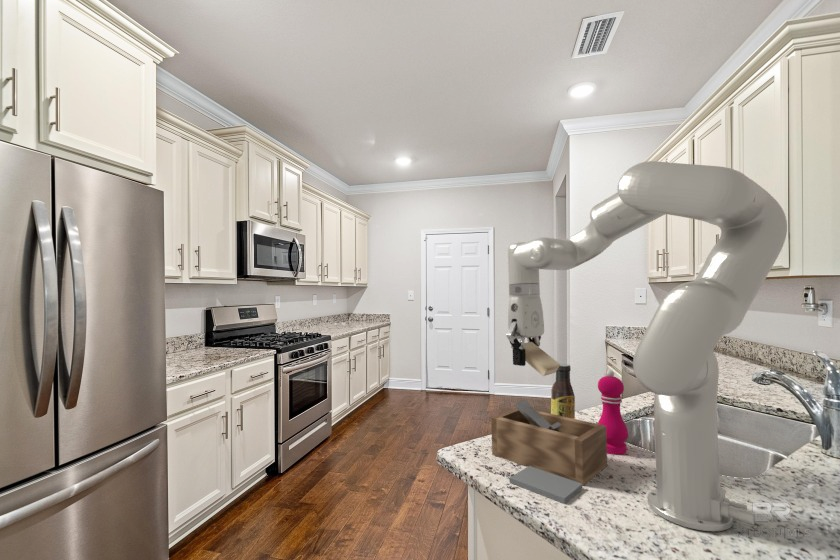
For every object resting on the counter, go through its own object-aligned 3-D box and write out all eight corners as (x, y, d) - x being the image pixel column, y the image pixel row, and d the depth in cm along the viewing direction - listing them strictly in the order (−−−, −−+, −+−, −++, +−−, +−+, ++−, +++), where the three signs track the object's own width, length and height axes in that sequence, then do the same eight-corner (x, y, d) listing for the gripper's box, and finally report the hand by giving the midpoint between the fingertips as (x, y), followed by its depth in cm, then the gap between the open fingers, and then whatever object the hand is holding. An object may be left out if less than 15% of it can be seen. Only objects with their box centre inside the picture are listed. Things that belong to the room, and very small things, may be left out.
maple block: (555, 372, 95) (560, 364, 94) (543, 376, 90) (548, 367, 90) (527, 349, 100) (531, 341, 99) (514, 351, 96) (519, 343, 95)
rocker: (582, 459, 90) (591, 447, 88) (570, 467, 85) (580, 455, 84) (523, 403, 101) (531, 391, 99) (511, 407, 97) (518, 396, 95)
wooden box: (607, 465, 89) (606, 425, 89) (583, 485, 80) (581, 441, 80) (520, 440, 105) (519, 406, 106) (492, 454, 96) (491, 417, 96)
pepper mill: (633, 456, 94) (630, 373, 95) (601, 454, 95) (598, 372, 96) (623, 445, 101) (621, 368, 102) (594, 443, 102) (591, 367, 103)
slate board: (582, 488, 78) (582, 483, 78) (564, 503, 73) (564, 498, 73) (529, 470, 87) (529, 465, 87) (509, 482, 81) (509, 477, 82)
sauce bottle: (560, 442, 103) (558, 367, 104) (546, 434, 109) (544, 363, 110) (580, 439, 105) (578, 365, 106) (566, 432, 111) (564, 362, 112)
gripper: (518, 291, 89) (521, 370, 88) (554, 291, 101) (556, 360, 100) (491, 292, 95) (493, 366, 94) (528, 292, 107) (530, 358, 106)
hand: (526, 362), depth 97 cm, fingers closed on maple block, 6 cm apart
